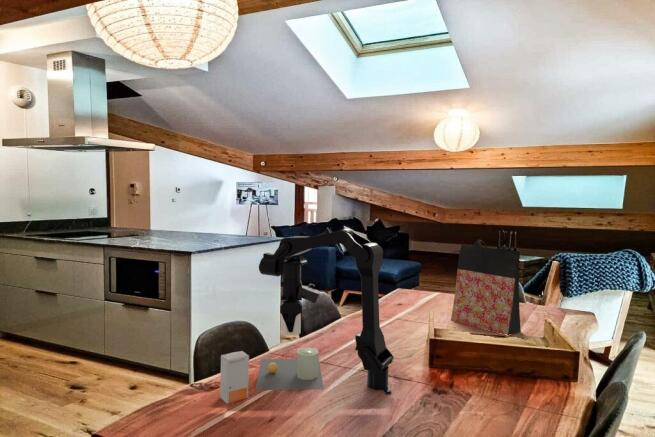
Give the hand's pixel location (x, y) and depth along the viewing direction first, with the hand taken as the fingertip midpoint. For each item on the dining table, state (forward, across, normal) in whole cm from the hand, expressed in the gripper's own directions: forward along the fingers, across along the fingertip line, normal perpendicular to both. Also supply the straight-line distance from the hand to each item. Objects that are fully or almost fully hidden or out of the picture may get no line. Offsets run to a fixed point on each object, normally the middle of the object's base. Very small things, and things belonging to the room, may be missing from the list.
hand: (290, 329), depth 137 cm
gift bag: (+12, +43, -79) cm, 91 cm away
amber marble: (+9, -7, +5) cm, 13 cm away
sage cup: (+11, -9, -5) cm, 15 cm away
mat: (+12, -7, 0) cm, 14 cm away
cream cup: (+1, 0, 0) cm, 1 cm away
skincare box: (+12, -22, +14) cm, 29 cm away
